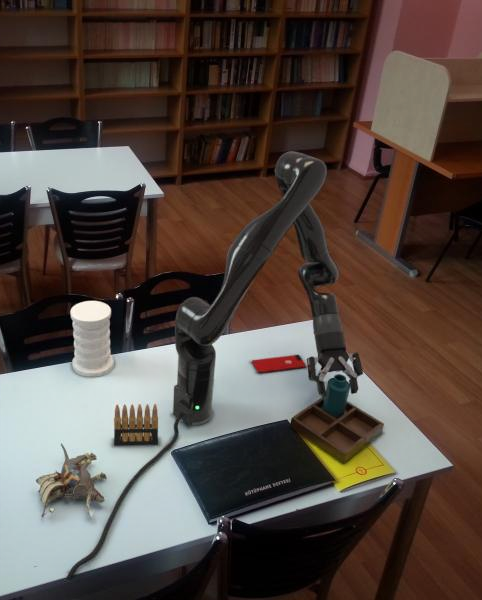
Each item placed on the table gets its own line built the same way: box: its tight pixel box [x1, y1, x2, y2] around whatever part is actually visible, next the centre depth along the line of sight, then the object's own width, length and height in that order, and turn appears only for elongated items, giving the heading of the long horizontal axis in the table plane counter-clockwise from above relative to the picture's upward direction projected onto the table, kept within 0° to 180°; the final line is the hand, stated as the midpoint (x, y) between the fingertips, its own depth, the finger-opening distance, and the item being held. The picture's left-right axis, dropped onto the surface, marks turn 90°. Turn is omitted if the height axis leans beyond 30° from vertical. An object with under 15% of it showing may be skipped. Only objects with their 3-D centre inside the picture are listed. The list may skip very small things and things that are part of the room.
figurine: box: [35, 442, 108, 520], centre depth 133 cm, size 20×6×17 cm
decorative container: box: [69, 300, 115, 378], centre depth 171 cm, size 12×12×18 cm
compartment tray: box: [289, 397, 385, 464], centre depth 157 cm, size 17×17×3 cm
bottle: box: [322, 373, 351, 419], centre depth 159 cm, size 6×6×12 cm
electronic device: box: [251, 354, 307, 374], centre depth 180 cm, size 6×1×15 cm
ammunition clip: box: [113, 403, 159, 447], centre depth 146 cm, size 11×2×12 cm, turn 95°
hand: (339, 394), depth 157 cm, fingers open, 8 cm apart
